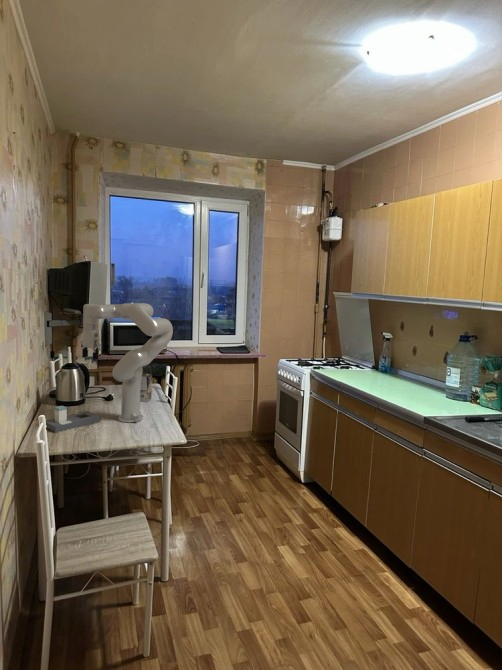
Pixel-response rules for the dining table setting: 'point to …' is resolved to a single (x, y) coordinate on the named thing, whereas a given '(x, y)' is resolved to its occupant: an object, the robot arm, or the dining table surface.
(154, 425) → the dining table surface
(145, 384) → the coffee box
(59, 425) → the charcoal socket panel
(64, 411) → the white plug block
